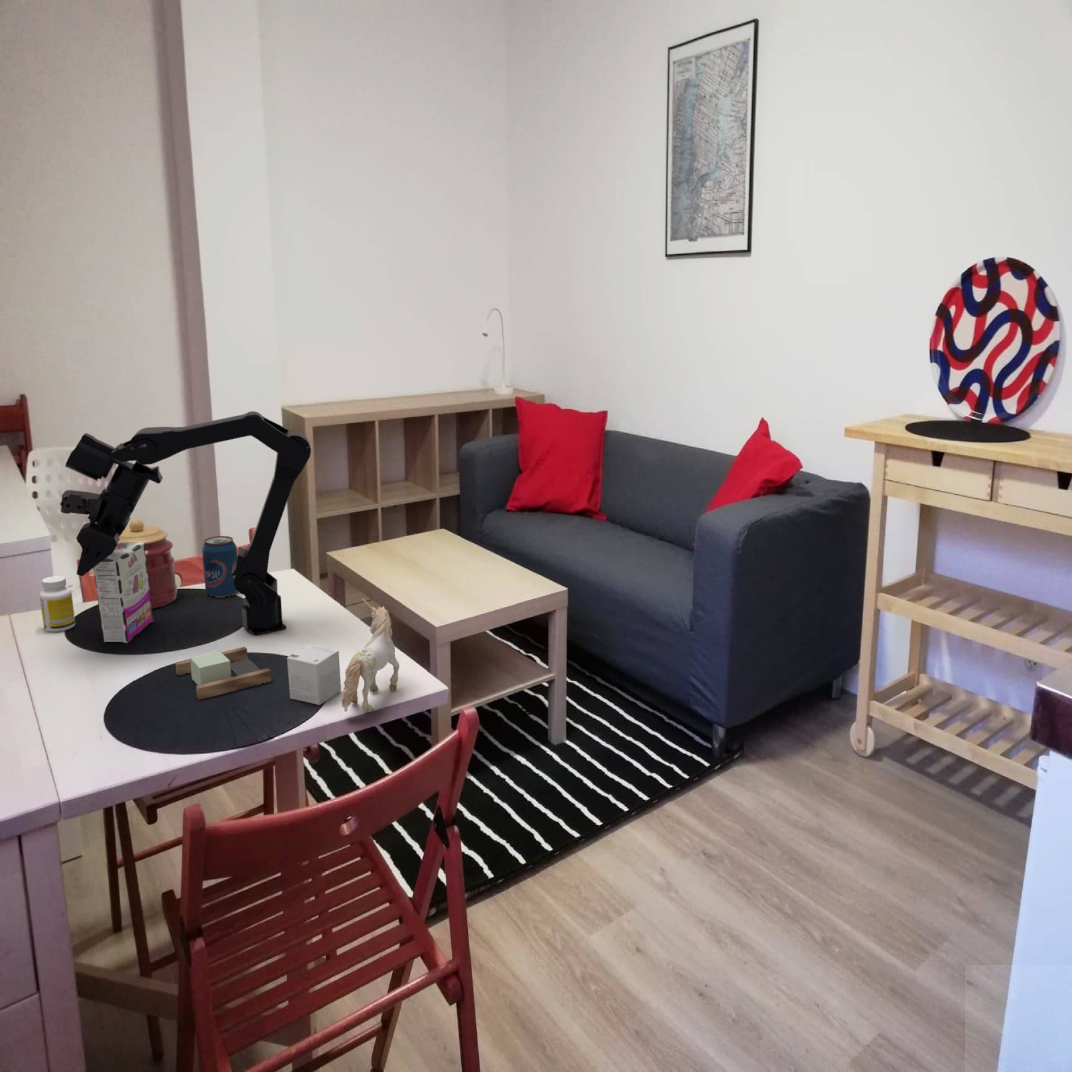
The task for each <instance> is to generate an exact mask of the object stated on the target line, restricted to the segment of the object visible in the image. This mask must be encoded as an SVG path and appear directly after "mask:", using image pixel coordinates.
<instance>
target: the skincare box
mask: <svg viewBox="0 0 1072 1072" xmlns="http://www.w3.org/2000/svg"><path fill="white" fill-rule="evenodd" d="M339 652H340V651H339V650H336V649H332V648H326V647H322V646H317V645H314V644H308V645H307V646H305V647H303V648H301V649H299V650H297V651H296V652H294V653H292V654H291V655H289V656H287V658H286V661H287V674H288V676H287V677H288V686H289V688H288V689H289V698H290V700H291V699H292V700H296V701H300V702H305V703H308V704H314V705H317V706H320V705H322V704H324V703H325V702H327V701H328V700H329V699H331V698H333V697H334V696H336V695H338V693H340V692H341V691H342V683H341V668H340V667H341V665H340V653H339Z"/></svg>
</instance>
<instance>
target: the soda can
mask: <svg viewBox="0 0 1072 1072" xmlns="http://www.w3.org/2000/svg"><path fill="white" fill-rule="evenodd" d="M203 541H204V544H203V545H202V548H201V553H202V563H203V565H202V566H203V574H204V587H205V591H206V593H207V594H208V595H209V596H210V595H211V596H210V597H212V596H215V597H214V598H226V597H225V596H228V597H230V596H229V595H232V596H234V595H236V594H237V592H238V591H237V590H236V588H235V586H234V576H231V574H232V566H233V563H234V562H235V561H236V559H237V556H238V550H237V544H236V543H235V541H234V539H233V537H231V536H229V535H228V536H227V535H217V536H216V535H215V536H211V537H207V538H205V539H204V540H203Z"/></svg>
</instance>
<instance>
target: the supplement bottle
mask: <svg viewBox="0 0 1072 1072" xmlns="http://www.w3.org/2000/svg"><path fill="white" fill-rule="evenodd" d="M66 580H67V579H66V577H65V576H63V575H53V576H48V577H44V578H43V579H42V580H41V585H42V588H43V589H42V590H41V592H40V593H39V600H40V601H39V602H40V609H41V616H42V624H43V628H44V631H47V632H52V633H54V632H55V633H56V632H58V633H59V632H64V631H67V630H70V629H72V628H74V627H75V626H76V618H75V617H76V616H75V609H74V602H73V594H72V591H71V588H70V587H67V581H66Z"/></svg>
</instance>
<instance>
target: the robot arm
mask: <svg viewBox="0 0 1072 1072" xmlns="http://www.w3.org/2000/svg"><path fill="white" fill-rule="evenodd" d="M245 437H252V438H254V439H256V440H258V441H259V442H261V443H262V444H263V445H265V446H266V447H268V448H270V449H271V450H273V452H275V453H276V459H275V465H274V473H273V476H272V481H271V483H270V486H269V489H268V492H267V495H266V497H265V500H264V504H263V506H262V510H261V513H260V515H259V518H258V521H257V524H256V527H255V529H254V532H253V535H252V539H251V541H250V542H249V544H248V546H247V547H246V549H245V548H243V547H240V546H239V547H238V550H237V559H236V561H235V562H234V563H233V566H232V574H231V576H234V586H235V588H236V590H237V592H238V593H239V594H241V595H243V596H244V597H243V605H242V606H241V617H242V626H243V627H244V628H245V629H246V630H247V631H248V632H249V633H250V634H252V635H254V636H257V635H262V634H266V633H270V632H276V631H279V630H284V629H286V628H287V625H286V624H285V623H284V622H283V609H282V607H283V606H282V596H281V595H279V594H278V579H277V578H275V577H274V576H273V575H272V574H270V573H269V572H268V569H269V559H270V553H271V549H272V546H273V543H274V540H275V537H276V534H277V532H278V529H279V526H280V523H281V520H282V517H283V514H284V512H285V508H286V505H287V503H288V501H289V497H290V494H291V491H292V488H293V486H294V484H295V482H296V480H297V479H298V477H299V476H300V474H301V473H302V472H303V470H304V468H305V466H306V465H307V463H308V461H309V460H310V458H311V454H312V449H311V444H310V440H309V438H308V436H307V435H306V434H304V433H303V432H301V431H300V430H295V429H294V430H289V429H287V428H286V427H284V426H282V425H280V424H278V423H276V422H275V421H272V420H271V419H269V418H267V417H265V416H263V415H262V414H261V413H260V412H257V411H254V410H252V411H248V412H246V413H244V414H239V415H234V416H229V417H226V418H220V419H214V420H210V421H205V422H201V423H195V424H192V425H187V426H177V427H176V426H155V427H154V426H153V427H151V426H150V427H144V428H141V429H139V430H138V431H136V433H135V434H134V435H133V436H132V437H131V439H130V440H128V441H124V442H123V443H121V442H120V443H119V444H118V445H116V446H112V445H111V444H108V443H106V442H104V441H101V440H100V439H97V438H96V437H95V436H94V435H91V434H89V433H87V432H86V433H84V434H83V435H82V436H81V438H80V440H79V441H78V443H76V444H77V445H76V446H75V448H74V449H73V450H72V451H71V452H70V454H69V456H68V458H67V460H66V463H65V468H68V469H70V470H71V471H74V472H77V473H78V474H80V475H83V476H85V477H86V478H90V479H92V480H93V481H95V482H98V481H99V480H101V479H102V478H103V479H105V480H106V479H107V478H108V477H109V476H110V473H111V472H112V470H113V468H114V466H115V465H117V467H116V468H115V470H114V472H113V475H112V476H111V478H110V480H109V481H108V484H107V486H106V487H105V488H103V489H102V491H101V493H95V492H91V491H82V490H75V489H74V490H73V489H67V490H65V491H63V493H62V494H61V501H60V505H59V506H60V512H61V513H62V514H65V515H66V514H79V515H88V516H87V519H88V520H89V522H88V523H87V522H86V523H84V524H83V526H81V528H80V530H79V532H78V534H77V536H76V538H75V539H76V542H77V543H78V544H79V546H80V547H81V553H80V557H79V562H78V565H77V569H76V576H77V575H78V576H79V577H84V576H85V575H86V574H88V573H89V572H90V571H91V570H92V569H93V568H94V567H95V566H96V565H98V564H99V563H100V562H101V561H103V560H104V559H105V558H107V557H108V556H110V555H111V554H112V553H113V551H114V550H115V548H116V546H117V544H118V542H119V540H120V539H119V536H120V535H121V534H122V533H123V531H124V530H125V528H126V527H128V524H129V522H130V520H131V516H132V514H133V512H134V510H135V508H136V507H137V505H138V503H139V500H140V499H141V497H142V495H143V493H144V491H145V490H146V487H147V486H148V483H149V482H150V481H152V482H153V483H156V484H161V482H162V480H163V475H162V473H161V470H160V466H159V465H157V466H153V467H150V466H148V465H153V464H156V463H159V462H161V461H165V460H166V459H169V458H170V457H173V456H175V455H177V454H179V453H182V452H184V451H185V450H188V449H189V450H190V449H194V448H195V449H196V448H199V447H203V446H209V445H212V444H217V443H218V444H219V443H221V442H225V441H231V440H235V439H236V440H237V439H240V438H245ZM134 461H135V462H134ZM133 462H134V463H133Z"/></svg>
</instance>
